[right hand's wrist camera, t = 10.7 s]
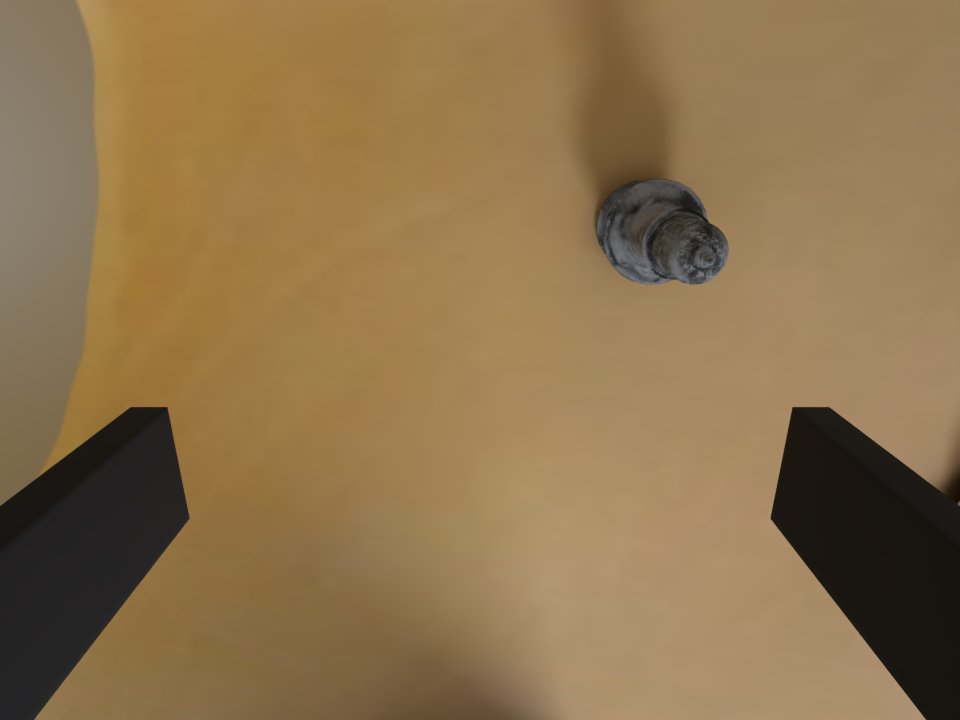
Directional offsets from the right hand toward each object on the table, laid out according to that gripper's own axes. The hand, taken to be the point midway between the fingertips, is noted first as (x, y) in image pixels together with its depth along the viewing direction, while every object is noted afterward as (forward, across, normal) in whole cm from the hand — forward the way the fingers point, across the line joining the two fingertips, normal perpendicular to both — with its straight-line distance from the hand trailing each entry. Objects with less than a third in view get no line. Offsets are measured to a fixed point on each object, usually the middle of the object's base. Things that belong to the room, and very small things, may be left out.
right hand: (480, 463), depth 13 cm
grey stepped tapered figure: (+26, +10, +2) cm, 28 cm away
